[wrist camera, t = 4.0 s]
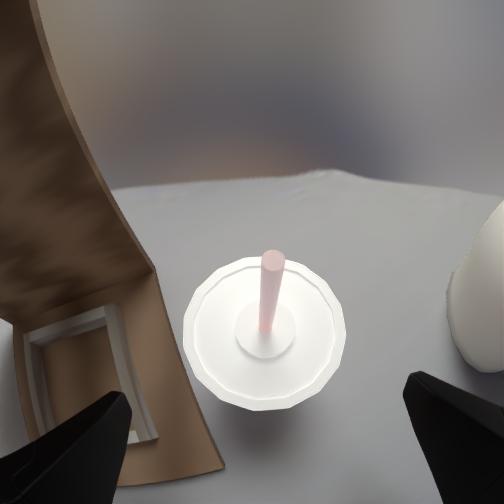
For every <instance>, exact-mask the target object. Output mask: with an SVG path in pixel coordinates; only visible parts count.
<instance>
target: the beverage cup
mask: <svg viewBox="0 0 504 504" xmlns="http://www.w3.org/2000/svg"><path fill="white" fill-rule="evenodd" d="M345 340H346V330H345V324H344V318H343V313H342V307H341V305H340V303H339V302H338V300H337V299H336V297H335V295H334V294H333V292H332V291H331V289H330V288H329V286H328V285H327V283H326V282H325V281H324V280H323V279H322V278H320V277H319V276H317V275H316V274H315V273H313V272H312V271H311V270H309V269H308V268H306V267H305V266H304V265H302V264H300V263H296V262H293V261H289V260H286V259H285V257H284V255H283V254H282V253H281V252H279V251H276V250H269V251H267V252H265V253H264V254H263V256H262V257H250V258H243V259H240V260H238V261H236V262H233V263H231V264H229V265H226V266H224V267H222V268H219V269H217V270H216V271H215V272H214V273H213V274H212V275H211V276H210V277H209V278H208V279H207V280H206V281H205V282H204V283H203V284H201V285H200V286H199V287H198V288H197V289H196V291H195V293H194V295H193V298H192V300H191V302H190V304H189V306H188V309H187V311H186V313H185V315H184V332H183V348H184V350H185V353H186V355H187V358H188V360H189V362H190V365H191V367H192V369H193V372H194V374H195V376H196V378H198V379H199V380H200V381H201V382H202V383H203V384H204V385H205V386H206V387H207V388H208V389H209V390H210V391H211V392H213V393H214V394H215V395H216V396H217V397H218V398H219V399H220V400H223V401H225V402H228V403H231V404H234V405H237V406H240V407H243V408H246V409H249V410H252V411H263V410H275V409H285V408H290V407H292V406H294V405H296V404H298V403H300V402H302V401H303V400H305V399H307V398H309V397H311V396H312V395H314V394H316V393H318V392H319V391H320V390H321V389H322V388H323V386H324V385H325V384H326V382H327V381H328V380H329V379H330V377H331V376H332V375H333V373H334V372H335V371H336V369H337V368H338V367H339V364H340V361H341V357H342V352H343V348H344V344H345Z"/></svg>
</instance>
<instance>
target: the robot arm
mask: <svg viewBox="0 0 504 504" xmlns="http://www.w3.org/2000/svg"><path fill="white" fill-rule="evenodd" d="M403 399H404V402H405V405H406V408H407V411H408V414H409V417H410V420H411V423H412V426H413V429H414V432H415V434H416V437H417V439H418V441H419V444H420V446H421V448H422V451H423V453H424V455H425V458H426V460H427V462H428V465H429V467H430V470H431V472H432V475H433V477H434V480H435V482H436V485H437V488H438V490H439V493H440V496H441V498H442V501H443V504H504V407H500V406H499V405H497V404H494V403H492V402H489V401H487V400H485V399H482V398H480V397H478V396H476V395H473V394H471V393H469V392H466V391H464V390H462V389H460V388H457V387H455V386H453V385H451V384H449V383H446V382H444V381H442V380H440V379H438V378H435V377H433V376H431V375H429V374H427V373H425V372H423V371H417V372H414V373H411V374H410V375H409V376H408V379H407V382H406V385H405V387H404V390H403ZM131 420H132V409H131V406H130V404H129V402H128V400H127V397H126V395H125V394H124V393H123V392H120V391H114V390H113V391H110V392H108V393H107V394H106V395H104V396H103V397H101V398H100V399H98V400H97V401H95V402H94V403H92V404H91V405H89V406H88V407H86V408H85V409H83V410H81V411H80V412H78V413H77V414H75V415H74V416H72V417H71V418H69V419H68V420H66V421H65V422H63V423H61V424H60V425H58V426H57V427H55V428H54V429H52V430H50V431H49V432H47V433H46V434H44V435H42V436H41V437H39V438H37V439H36V440H35V441H32V442H31V443H29V444H28V445H26V446H24V447H22V448H21V449H19V450H17V451H15V452H13V453H11V454H9V455H7V456H5V457H2V458H0V504H112V502H113V498H114V494H115V490H116V486H117V483H118V479H119V475H120V472H121V468H122V465H123V461H124V457H125V454H126V449H127V443H128V437H129V431H130V425H131Z"/></svg>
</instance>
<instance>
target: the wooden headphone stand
mask: <svg viewBox="0 0 504 504" xmlns="http://www.w3.org/2000/svg"><path fill="white" fill-rule="evenodd" d="M0 318H2V319H3V320H5V321H7V322H9V323H10V324H12V325H13V344H14V358H15V368H16V376H17V383H18V390H19V396H20V401H21V406H22V411H23V416H24V420H25V424H26V428H27V432H28V435H29V439H30V442H32V441H35V440H36V439H37V438H39V437H41V436H42V435H44V434H46V433H47V432H49V431H50V430H52V429H54V428H55V427H57V426H58V425H60V424H61V423H63V422H65V421H66V420H68V419H69V418H71V417H72V416H74V415H75V414H77V413H78V412H80V411H81V410H83V409H85V408H86V407H88V406H89V405H91V404H92V403H94V402H95V401H97V400H98V399H100V398H101V397H103V396H104V395H106V394H107V393H108V392H110V391H113V390H114V391H120V392H123V393H124V394H125V395H126V397H127V400H128V402H129V404H130V406H131V409H132V420H131V425H130V431H129V437H128V443H127V449H126V454H125V457H124V461H123V465H122V468H121V472H120V475H119V479H118V483H117V486H128V485H139V484H148V483H155V482H162V481H168V480H174V479H180V478H185V477H190V476H194V475H199V474H203V473H207V472H211V471H215V470H218V469H222V468H224V466H225V463H224V461H223V459H222V457H221V455H220V453H219V451H218V449H217V447H216V444H215V442H214V440H213V438H212V436H211V433H210V431H209V429H208V426H207V424H206V422H205V419H204V417H203V415H202V412H201V410H200V407H199V405H198V402H197V400H196V397H195V394H194V392H193V389H192V387H191V384H190V381H189V378H188V376H187V373H186V370H185V367H184V364H183V362H182V359H181V356H180V353H179V350H178V347H177V344H176V340H175V337H174V334H173V331H172V328H171V324H170V321H169V318H168V314H167V311H166V307H165V304H164V300H163V296H162V293H161V289H160V285H159V281H158V277H157V273H156V269H155V266H154V264H153V263H152V261H151V260H150V258H149V257H148V255H147V253H146V252H145V250H144V249H143V247H142V245H141V244H140V242H139V241H138V239H137V237H136V236H135V234H134V232H133V231H132V229H131V227H130V225H129V224H128V222H127V220H126V219H125V217H124V215H123V213H122V212H121V210H120V208H119V206H118V204H117V203H116V201H115V199H114V197H113V195H112V194H111V192H110V190H109V188H108V186H107V184H106V182H105V180H104V178H103V177H102V175H101V173H100V171H99V169H98V167H97V165H96V163H95V161H94V159H93V157H92V155H91V153H90V150H89V148H88V146H87V144H86V142H85V140H84V137H83V135H82V133H81V131H80V129H79V126H78V124H77V122H76V120H75V117H74V115H73V112H72V110H71V108H70V105H69V103H68V100H67V98H66V95H65V93H64V90H63V87H62V85H61V82H60V79H59V76H58V74H57V71H56V68H55V65H54V62H53V59H52V56H51V53H50V50H49V46H48V43H47V40H46V36H45V33H44V29H43V25H42V21H41V17H40V13H39V9H38V4H37V0H0Z"/></svg>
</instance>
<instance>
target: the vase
mask: <svg viewBox="0 0 504 504" xmlns="http://www.w3.org/2000/svg"><path fill="white" fill-rule="evenodd" d="M446 294H447V318H448V322H449V325H450V329H451V333H452V337H453V341H454V343H455V344H456V346H457V348H458V349H459V351H460V353H461V355H462V356H463V358H464V360H465V361H466V362H467V363H468V364H470V365H471V366H472V367H473V368H475V369H476V370H477V371H478V372H482V373H496V372H499V371H503V370H504V200H503V201H502V202H501V203H500V205H499V206H498V207H497V208H496V209H495V211H494V212H493V213H492V214H491V216H490V217H489V218H488V219H487V220H486V222H485V223H484V225H483V226H482V228H481V229H480V231H479V233H478V235H477V237H476V238H475V240H474V242H473V244H472V246H471V248H470V250H469V251H468V253H467V255H466V257H465V258H464V260H463V261H462V263H461V264H460V265H459V266H458V267H457V268H456V269H455V270H454V271H453V272H452V275H451V278H450V282H449V285H448V288H447V291H446Z"/></svg>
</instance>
